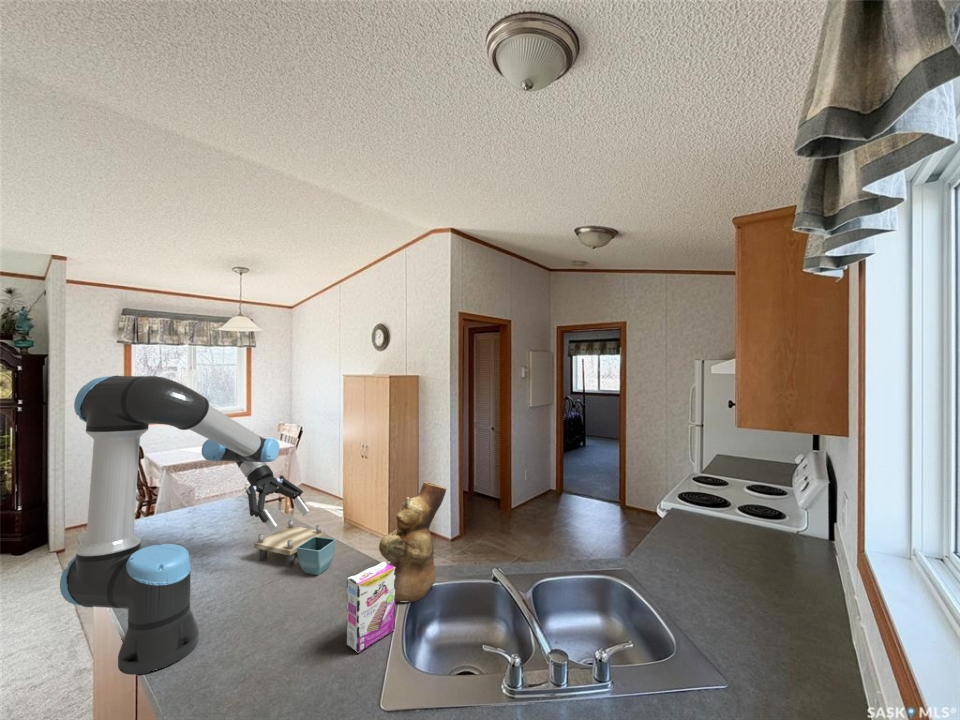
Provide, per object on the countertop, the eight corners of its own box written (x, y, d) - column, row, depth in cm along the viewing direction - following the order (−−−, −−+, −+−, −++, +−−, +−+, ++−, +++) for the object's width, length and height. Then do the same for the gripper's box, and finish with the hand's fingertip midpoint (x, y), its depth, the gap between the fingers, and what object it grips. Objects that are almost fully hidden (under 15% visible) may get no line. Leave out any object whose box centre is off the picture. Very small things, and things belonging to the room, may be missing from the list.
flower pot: (295, 575, 132) (295, 547, 132) (314, 562, 140) (314, 535, 140) (319, 579, 129) (319, 551, 129) (336, 566, 137) (336, 539, 137)
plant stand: (325, 548, 150) (324, 524, 150) (290, 569, 136) (290, 543, 136) (291, 541, 156) (290, 518, 156) (254, 560, 141) (253, 535, 141)
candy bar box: (358, 655, 96) (357, 585, 96) (346, 646, 99) (345, 577, 99) (396, 630, 105) (396, 566, 105) (384, 623, 108) (383, 559, 108)
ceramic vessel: (371, 587, 125) (370, 487, 125) (432, 563, 139) (431, 474, 139) (396, 611, 113) (396, 501, 113) (460, 583, 127) (460, 484, 127)
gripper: (280, 469, 156) (312, 514, 151) (217, 489, 133) (252, 543, 128) (291, 456, 154) (323, 501, 149) (229, 474, 131) (265, 528, 126)
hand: (291, 520), depth 138 cm, fingers open, 13 cm apart
